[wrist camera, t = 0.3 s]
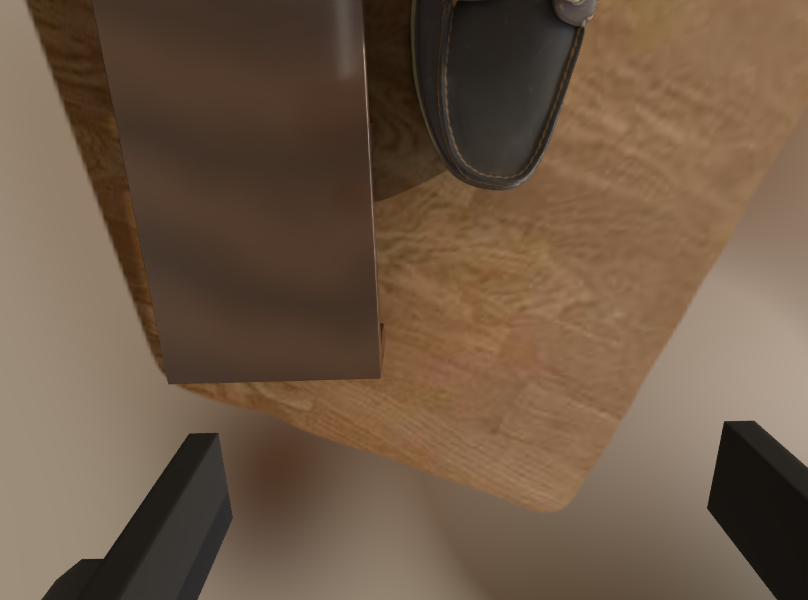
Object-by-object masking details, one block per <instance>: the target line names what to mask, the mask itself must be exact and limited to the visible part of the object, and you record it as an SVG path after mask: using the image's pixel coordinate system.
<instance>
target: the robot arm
mask: <svg viewBox="0 0 808 600" xmlns="http://www.w3.org/2000/svg"><path fill="white" fill-rule="evenodd" d="M707 509H708V510H709V511H710V513H711V514H712V515H713V517H714V518H715V519H716V521H717V522H718V523H719V524H720V526H721V527H722V528H723V530H724V531H725V532H726V534H727V535H728V536H729V538H730V539H731V540H732V542H733V543H734V544H735V545H736V547H737V548H738V549H739V551H740V552H741V553H742V554H743V556H744V557H745V558H746V560H747V561H748V562H749V564H750V565H751V566H752V567H753V569H754V570H755V572H756V573H757V574H758V575H759V577H760V578H761V579H762V581H763V582H764V583H765V585H766V586H767V587H768V588H769V590H770V591H771V592H772V594H773V595H774V596H775V598H776V599H777V600H808V468H807V467H806V466H805V465H804V464H803V463H801V461H799V460H798V459H797V458H796V457H795V456H794V455H793V454H791V453H790V452H789V451H788V450H787V449H785V448H784V447H783V446H782V445H781V444H780V443H779V442H778V441H777V440H775V439H774V438H773V437H772V436H771V435H770V434H769V433H768V432H766V431H765V430H764V429H763V428H762V427H761V426H759V425H758V424H757V423H756V422H755V421H724V425H723V430H722V435H721V440H720V446H719V450H718V455H717V460H716V466H715V471H714V476H713V481H712V486H711V491H710V496H709V501H708V506H707ZM232 519H233V517H232V511H231V506H230V499H229V493H228V487H227V482H226V475H225V469H224V463H223V458H222V452H221V446H220V440H219V434H218V433H196V434H195V433H194V434H189V435H188V436H187V438H186V439H185V441H184V442H183V443H182V445H181V447H180V448H179V449H178V451H177V453H176V454H175V455H174V457H173V458H172V460H171V461H170V463H169V464H168V466H167V467H166V468H165V470H164V471H163V473H162V474H161V476H160V477H159V479H158V480H157V482H156V483H155V485H154V486H153V487H152V489H151V490H150V492H149V493H148V495H147V496H146V498H145V499H144V501H143V502H142V503H141V505H140V506H139V508H138V509H137V511H136V512H135V514H134V515H133V517H132V518H131V520H130V521H129V522H128V524H127V525H126V527H125V529H124V530H123V532H122V533H121V534H120V536H119V537H118V539H117V540H116V541H115V543H114V545H113V546H112V547H111V549H110V550H109V552H108V553H107V555H106V556H105V558H104V559H81V560H80V561H79V562H78V563H77V564H75V565H74V566H73V567H72V568H70V569H69V570H68V571H67V572H66V573H64V574H63V575H62V576H61V577H59V579H57V580H56V581H55V582H54V584H53V585H52V586H51V588H50V589H49V590H48V592H47V593H46V594H45V596H44V597H43V598H42V600H197V599H198V597H199V595H200V593H201V590H202V588H203V586H204V583H205V581H206V579H207V576H208V574H209V572H210V569H211V567H212V565H213V563H214V560H215V558H216V555H217V553H218V551H219V548H220V546H221V544H222V541H223V539H224V537H225V535H226V532H227V530H228V528H229V525H230V523H231V521H232Z"/></svg>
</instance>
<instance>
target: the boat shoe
mask: <svg viewBox="0 0 808 600" xmlns="http://www.w3.org/2000/svg"><path fill="white" fill-rule="evenodd" d="M597 1H598V0H412V10H411V21H410V39H411V54H412V66H413V75H414V82H415V87H416V91H417V96H418V100H419V104H420V107H421V111H422V114H423V117H424V120H425V123H426V127H427V129H428V132H429V135H430V137H431V140H432V142H433V145H434V147H435V149H436V152H437V154H438V155H439V157H440V159H441V160H442V162H443V164H444V165H445V167H446V168H447V169H448V171H449V172H450V173H451V174H452V175H454V176H455V177H456V178H458V179H459V180H461V181H463V182H465V183H467V184H469V185H472V186H474V187H478V188H482V189H489V190H510V189H514V188H517V187H519V186H521V185H523V184H525V183H526V182H527V181H528V180H529V179H530V178H531V177H532V175H533V174H534V172H535V170H536V169H537V167H538V165H539V163H540V161H541V159H542V157H543V155H544V153H545V151H546V148H547V146H548V144H549V142H550V139H551V137H552V134H553V131H554V128H555V126H556V123H557V120H558V117H559V114H560V111H561V108H562V105H563V102H564V98H565V95H566V91H567V88H568V85H569V82H570V79H571V76H572V73H573V70H574V67H575V64H576V61H577V58H578V55H579V52H580V49H581V46H582V42H583V39H584V36H585V31H586V26H587V24H588V23H589V22H590V20H591V18H592V17H593V14H594V11H595V8H596V5H597Z"/></svg>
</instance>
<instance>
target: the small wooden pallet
mask: <svg viewBox="0 0 808 600" xmlns="http://www.w3.org/2000/svg"><path fill="white" fill-rule="evenodd" d="M92 4H93V10H94V15H95V20H96V25H97V30H98V35H99V40H100V45H101V50H102V55H103V60H104V65H105V70H106V75H107V80H108V85H109V90H110V95H111V100H112V105H113V110H114V115H115V120H116V125H117V130H118V135H119V140H120V145H121V150H122V155H123V160H124V165H125V170H126V175H127V180H128V185H129V190H130V195H131V200H132V205H133V210H134V215H135V220H136V225H137V230H138V235H139V240H140V245H141V250H142V255H143V260H144V265H145V270H146V275H147V280H148V285H149V290H150V295H151V300H152V305H153V310H154V315H155V320H156V325H157V330H158V335H159V340H160V345H161V350H162V355H163V360H164V365H165V370H166V376H167V381H168V384H198V383H234V382H270V381H306V380H342V379H379V378H382V367H383V357H384V347H385V337H384V324H380V313H379V293H378V274H377V254H376V235H375V216H374V196H373V177H372V157H371V152H372V151H373V150H374V149H375V133H374V123H370V118H369V99H368V79H367V60H366V41H365V21H364V2H363V0H92Z"/></svg>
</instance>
